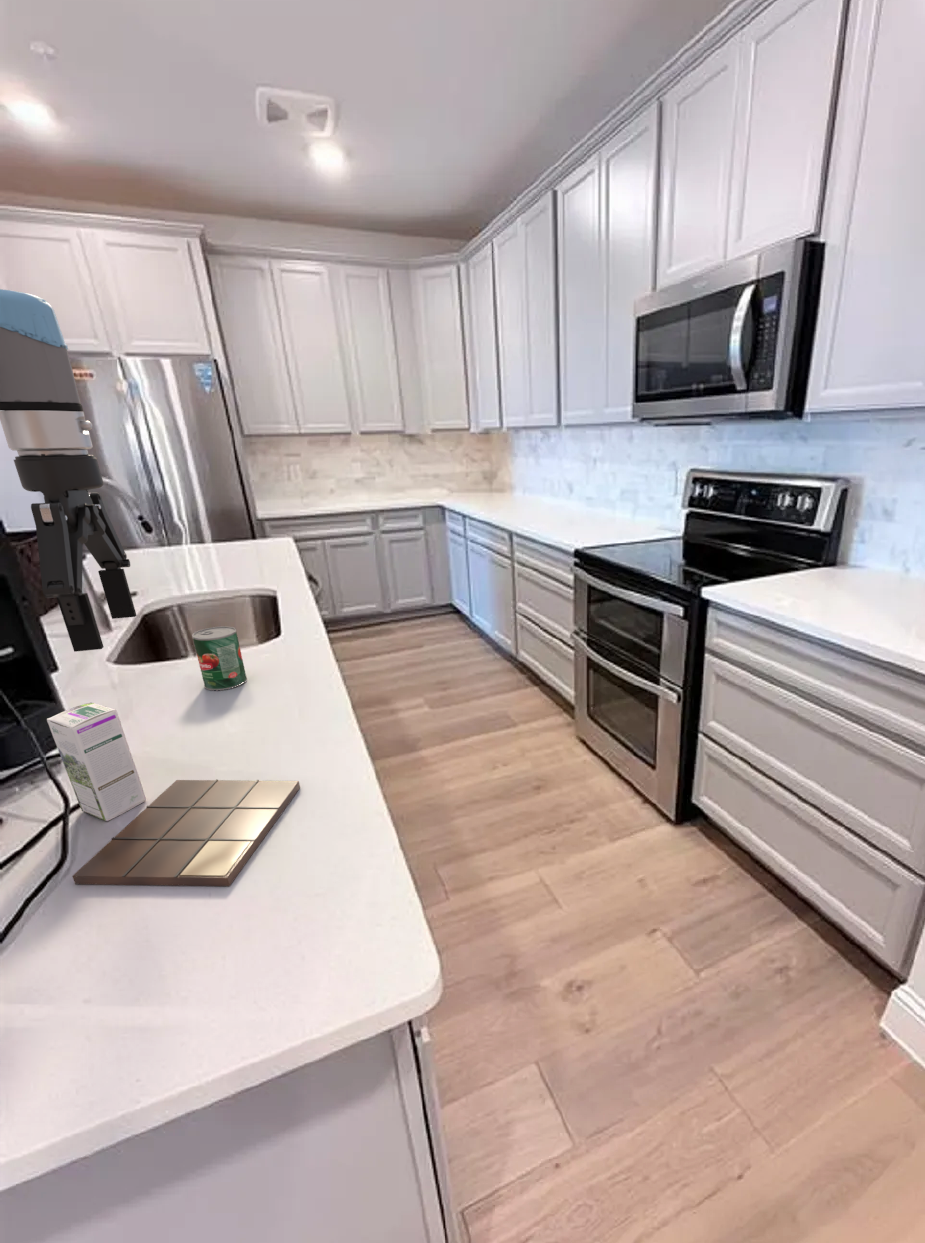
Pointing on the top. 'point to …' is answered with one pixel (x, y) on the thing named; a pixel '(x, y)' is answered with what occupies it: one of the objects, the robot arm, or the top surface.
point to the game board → (191, 835)
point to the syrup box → (97, 760)
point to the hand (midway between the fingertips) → (108, 632)
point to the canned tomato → (219, 657)
